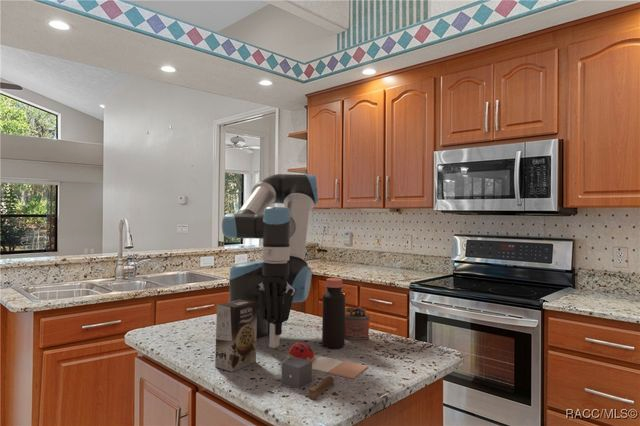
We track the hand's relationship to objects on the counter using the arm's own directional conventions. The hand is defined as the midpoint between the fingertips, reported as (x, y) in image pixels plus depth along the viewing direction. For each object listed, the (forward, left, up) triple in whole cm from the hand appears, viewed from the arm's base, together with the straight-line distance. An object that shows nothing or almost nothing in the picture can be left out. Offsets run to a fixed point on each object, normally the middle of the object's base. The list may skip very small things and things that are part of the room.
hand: (274, 345), depth 116 cm
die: (+19, -14, 0) cm, 23 cm away
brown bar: (+23, -14, -2) cm, 27 cm away
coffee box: (-4, -12, -3) cm, 13 cm away
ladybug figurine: (+9, 0, -2) cm, 9 cm away
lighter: (+13, +26, -3) cm, 29 cm away
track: (+16, 0, -2) cm, 16 cm away
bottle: (+10, +16, -3) cm, 19 cm away
